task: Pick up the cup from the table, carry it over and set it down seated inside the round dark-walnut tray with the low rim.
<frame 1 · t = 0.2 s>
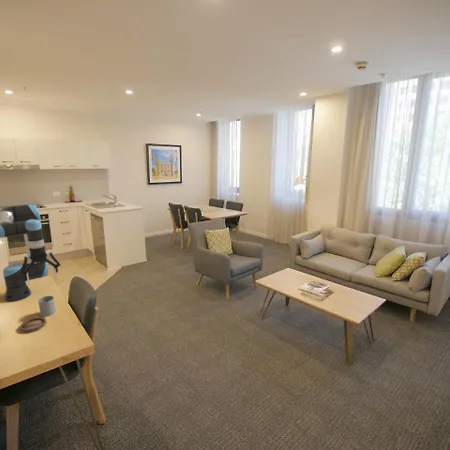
hand: (42, 280, 171), 27 cm above the table, fingers open, 13 cm apart
cup: (48, 313, 186), on the table
tray: (33, 326, 172), on the table
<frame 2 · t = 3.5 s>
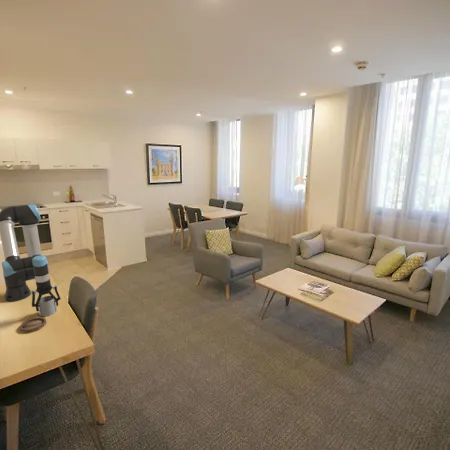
hand: (48, 312, 185), 0 cm above the table, fingers closed on cup, 8 cm apart
cup: (48, 313, 186), on the table, touching gripper
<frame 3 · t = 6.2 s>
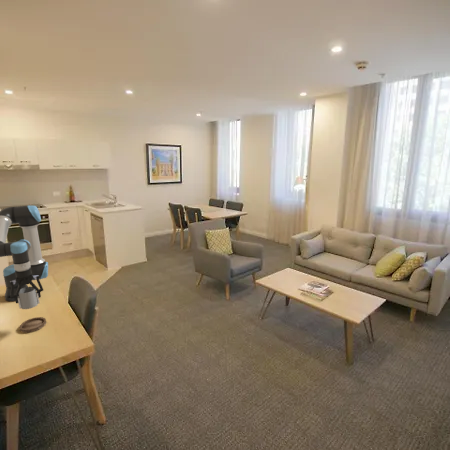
hand: (29, 305, 168), 14 cm above the table, fingers closed on cup, 8 cm apart
cup: (29, 305, 168), point 14 cm above the table, touching gripper
when the fingers open (3 cm above the table, at t = 9.0 s): cup drops 1 cm, resting on tray.
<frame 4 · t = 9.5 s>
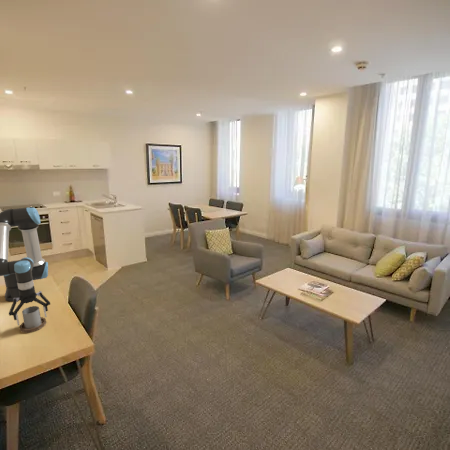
hand: (32, 320, 171), 4 cm above the table, fingers open, 13 cm apart
cup: (33, 325, 172), point 1 cm above the table, touching tray
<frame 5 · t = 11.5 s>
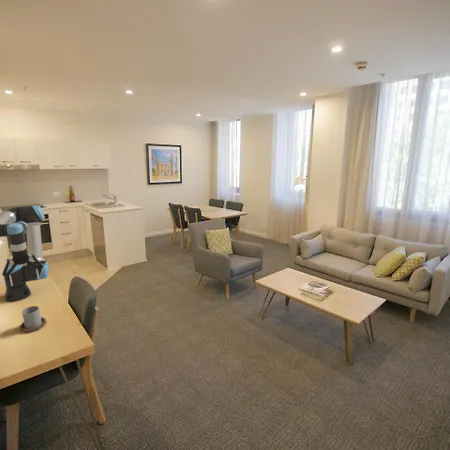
hand: (25, 281, 177), 23 cm above the table, fingers open, 13 cm apart
nothing on the table moved.
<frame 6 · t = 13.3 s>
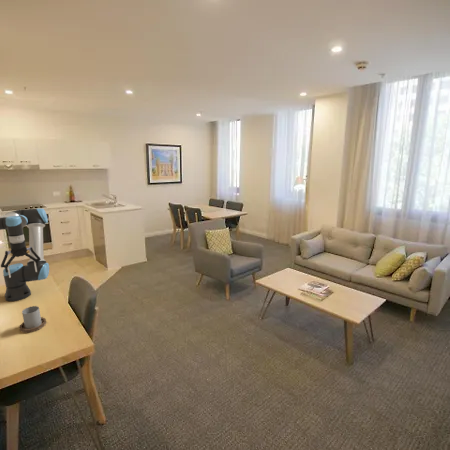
hand: (23, 274, 180), 27 cm above the table, fingers open, 13 cm apart
nothing on the table moved.
at the end: cup 0.1 cm from the tray (horizontally); cup tilted 0°; cup point 0.6 cm above the table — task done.
